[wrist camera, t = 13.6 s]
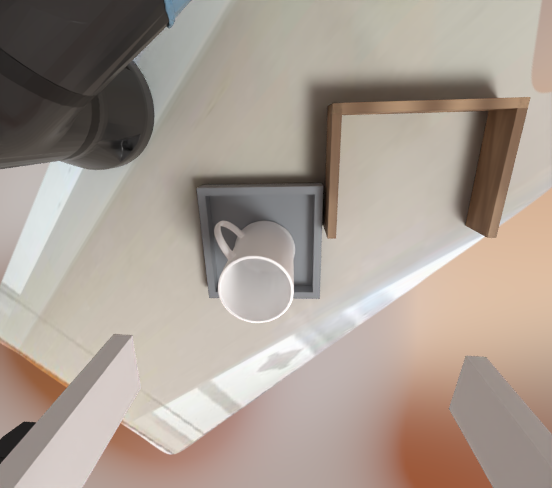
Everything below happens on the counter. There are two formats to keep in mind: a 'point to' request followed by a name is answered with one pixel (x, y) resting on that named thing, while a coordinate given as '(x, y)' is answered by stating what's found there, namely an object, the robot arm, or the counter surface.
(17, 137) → the robot arm
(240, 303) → the mug
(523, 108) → the bay
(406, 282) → the counter surface
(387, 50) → the counter surface
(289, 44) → the counter surface
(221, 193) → the tray
